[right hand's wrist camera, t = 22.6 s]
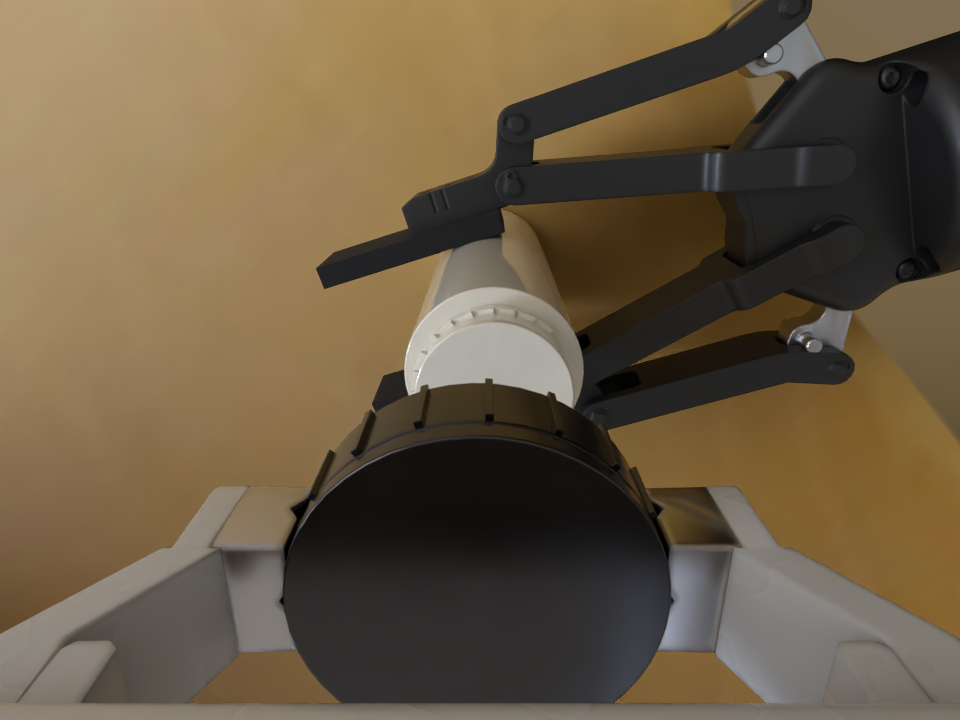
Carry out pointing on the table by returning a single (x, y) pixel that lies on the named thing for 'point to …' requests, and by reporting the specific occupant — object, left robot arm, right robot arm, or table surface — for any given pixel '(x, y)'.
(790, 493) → the table surface
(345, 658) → the lid
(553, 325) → the jar
